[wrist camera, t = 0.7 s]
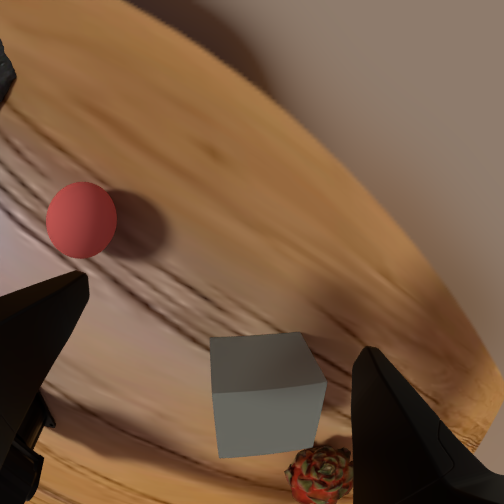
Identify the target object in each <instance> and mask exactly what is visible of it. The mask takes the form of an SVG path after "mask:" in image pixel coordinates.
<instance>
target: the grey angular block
mask: <svg viewBox="0 0 504 504" xmlns="http://www.w3.org/2000/svg"><path fill="white" fill-rule="evenodd" d="M210 361H211V384H212V399H213V409H214V419H215V428H216V437H217V446H218V454H219V458H233V457H246V456H257V455H266V454H274V453H281V452H288V451H295V450H301V449H306V448H312V447H313V443H314V439H315V435H316V431H317V427H318V423H319V419H320V414H321V410H322V406H323V401H324V396H325V391H326V387H327V380H326V378H325V376H324V375H323V373H322V371H321V369H320V367H319V366H318V364H317V362H316V360H315V358H314V356H313V355H312V353H311V351H310V349H309V347H308V346H307V344H306V342H305V340H304V338H303V337H302V335H301V333H300V332H293V333H282V334H269V335H254V336H237V337H215V338H210Z"/></svg>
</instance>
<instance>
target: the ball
mask: <svg viewBox="0 0 504 504" xmlns="http://www.w3.org/2000/svg"><path fill="white" fill-rule="evenodd" d="M116 225H117V214H116V209H115V205H114V203H113V201H112V199H111V197H110V196H109V195H108V193H107V192H106V191H105V190H103V189H102V188H101V187H99V186H97V185H95V184H92V183H89V182H77V183H73V184H70V185H68V186H66V187H64V188H63V189H62V190H60V191H59V192H58V193H57V194H56V195H55V197H54V198H53V199H52V201H51V203H50V205H49V208H48V211H47V216H46V226H47V231H48V235H49V237H50V239H51V241H52V243H53V244H54V246H55V247H56V248H57V249H58V250H59V251H60V252H62V253H63V254H65V255H67V256H69V257H72V258H80V259H82V258H88V257H92V256H94V255H96V254H98V253H100V252H101V251H102V250H104V249H105V248H106V246H107V245H108V244H109V243H110V241H111V240H112V238H113V236H114V233H115V230H116Z"/></svg>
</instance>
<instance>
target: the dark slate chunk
mask: <svg viewBox="0 0 504 504" xmlns="http://www.w3.org/2000/svg"><path fill="white" fill-rule="evenodd" d="M15 78H16V73H15V70H14V68H13V66H12V63H11V61H10V60H9V58H8V57H7V56H6V54H5V53H4V46H3V45H2V41H1V39H0V102H1V101H2V100H3V98H4V95H5V94H6V93H7V91H8V90H9V87H10V84H11V82H12V80H13V79H15Z"/></svg>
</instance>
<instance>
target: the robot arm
mask: <svg viewBox="0 0 504 504" xmlns="http://www.w3.org/2000/svg"><path fill="white" fill-rule="evenodd" d="M89 295H90V294H89V283H88V276H87V274H86V273H83V272H81V271H77V270H75V271H72V272H69V273H66V274H63V275H60V276H57V277H54V278H51V279H49V280H46V281H43V282H40V283H37V284H34V285H31V286H29V287H26V288H23V289H20V290H17V291H15V292H12V293H9V294H6V295H4V296H1V297H0V504H24V503H25V501H29V500H31V498H32V497H33V496H34V494H35V492H36V490H37V488H38V485H39V481H40V476H41V471H42V466H43V462H44V457H43V456H41V455H39V454H37V453H36V452H35V451H33V449H34V447H35V445H36V442H37V440H38V438H39V436H40V434H41V432H42V429H43V427H44V426H47V427H52V428H55V426H56V423H55V421H54V419H53V417H52V416H51V414H50V412H49V410H48V408H47V406H46V404H45V402H44V400H43V398H42V396H41V393H40V391H39V388H40V386H41V385H42V383H43V381H44V379H45V377H46V376H47V374H48V372H49V371H50V369H51V367H52V365H53V364H54V362H55V360H56V359H57V357H58V355H59V354H60V352H61V350H62V349H63V347H64V346H65V344H66V342H67V341H68V339H69V337H70V336H71V334H72V332H73V330H74V328H75V326H76V324H77V322H78V320H79V318H80V316H81V314H82V312H83V310H84V308H85V306H86V304H87V302H88V300H89ZM351 423H352V444H353V504H504V475H499V474H496V473H494V472H492V471H490V470H488V469H487V468H486V467H485V466H484V465H483V464H482V463H481V462H480V461H479V460H478V459H477V458H476V457H475V456H474V455H473V454H472V453H471V452H470V451H469V450H468V449H467V448H466V447H465V446H464V445H463V444H462V443H461V442H460V441H459V440H458V439H457V438H456V436H455V435H454V434H453V433H452V432H451V431H450V430H449V429H448V427H447V426H446V425H445V424H444V423H443V422H442V420H440V418H439V417H438V416H437V415H436V413H435V412H434V411H433V410H432V409H431V408H430V406H429V405H428V404H427V403H426V402H425V401H424V400H423V398H422V397H421V396H420V395H419V394H418V393H417V392H416V390H415V389H414V388H413V387H412V386H411V385H410V384H409V382H408V381H407V380H406V379H405V378H404V377H403V376H402V374H401V373H400V372H399V371H398V370H397V369H396V368H395V367H394V365H393V364H392V363H391V362H390V361H389V360H388V359H387V358H386V357H385V355H384V354H383V353H382V352H381V351H380V350H379V349H378V348H376V347H371V346H366V347H364V348H363V350H362V351H361V353H360V355H359V356H358V358H357V359H356V361H355V362H354V365H353V368H352V394H351Z"/></svg>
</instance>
